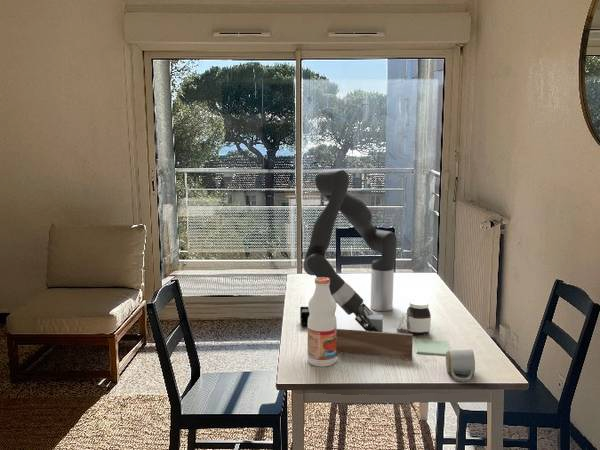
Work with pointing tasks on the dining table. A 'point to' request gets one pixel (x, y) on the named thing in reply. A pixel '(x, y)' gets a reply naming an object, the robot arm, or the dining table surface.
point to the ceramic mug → (460, 363)
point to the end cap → (304, 316)
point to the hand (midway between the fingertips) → (379, 332)
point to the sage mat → (432, 347)
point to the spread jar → (417, 318)
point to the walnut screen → (374, 343)
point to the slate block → (377, 321)
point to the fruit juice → (322, 325)
